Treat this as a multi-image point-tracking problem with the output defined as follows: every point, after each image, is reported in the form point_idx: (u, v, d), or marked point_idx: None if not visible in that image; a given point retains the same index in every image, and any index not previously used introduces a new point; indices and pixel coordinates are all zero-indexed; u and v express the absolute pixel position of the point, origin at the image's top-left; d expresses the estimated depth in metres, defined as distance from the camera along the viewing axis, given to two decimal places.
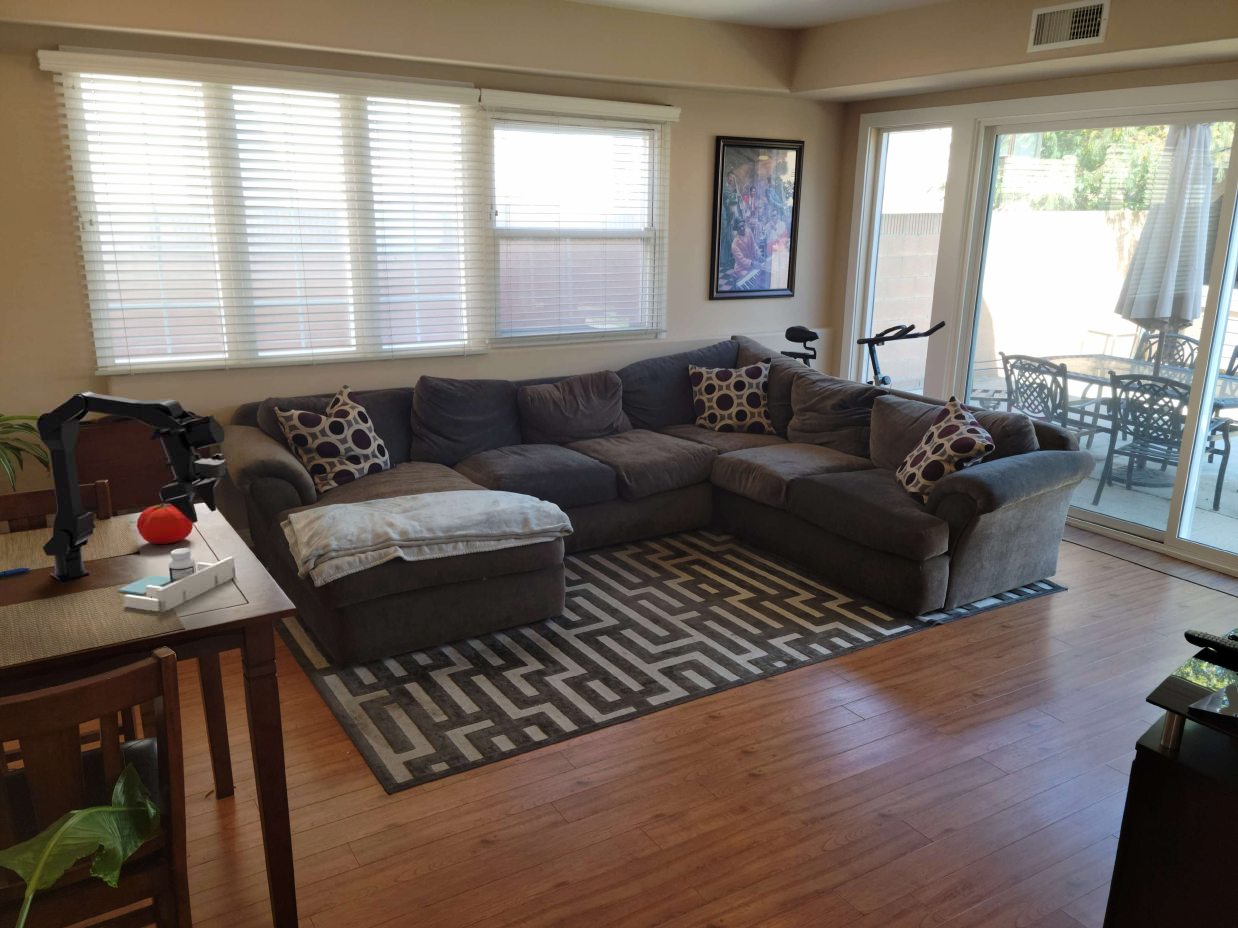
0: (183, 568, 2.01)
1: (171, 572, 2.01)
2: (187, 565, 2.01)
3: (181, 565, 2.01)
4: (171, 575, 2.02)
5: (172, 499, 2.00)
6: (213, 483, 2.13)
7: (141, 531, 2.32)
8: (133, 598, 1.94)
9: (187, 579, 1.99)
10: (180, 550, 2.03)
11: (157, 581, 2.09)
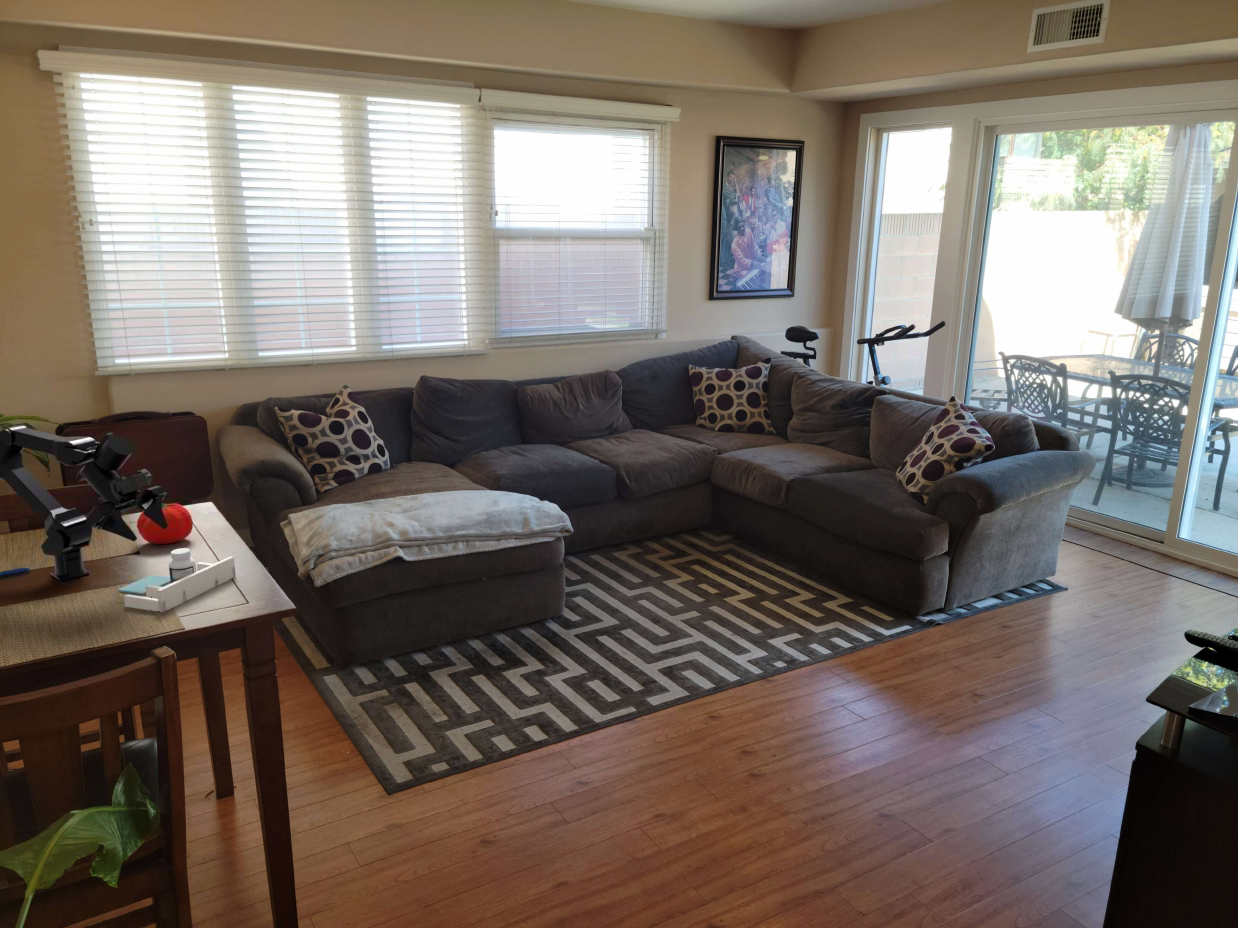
0: (183, 568, 2.01)
1: (171, 572, 2.01)
2: (187, 565, 2.01)
3: (181, 565, 2.01)
4: (171, 575, 2.02)
5: (100, 524, 1.97)
6: (154, 501, 2.08)
7: (141, 531, 2.32)
8: (133, 598, 1.94)
9: (187, 579, 1.99)
10: (180, 550, 2.03)
11: (157, 581, 2.09)
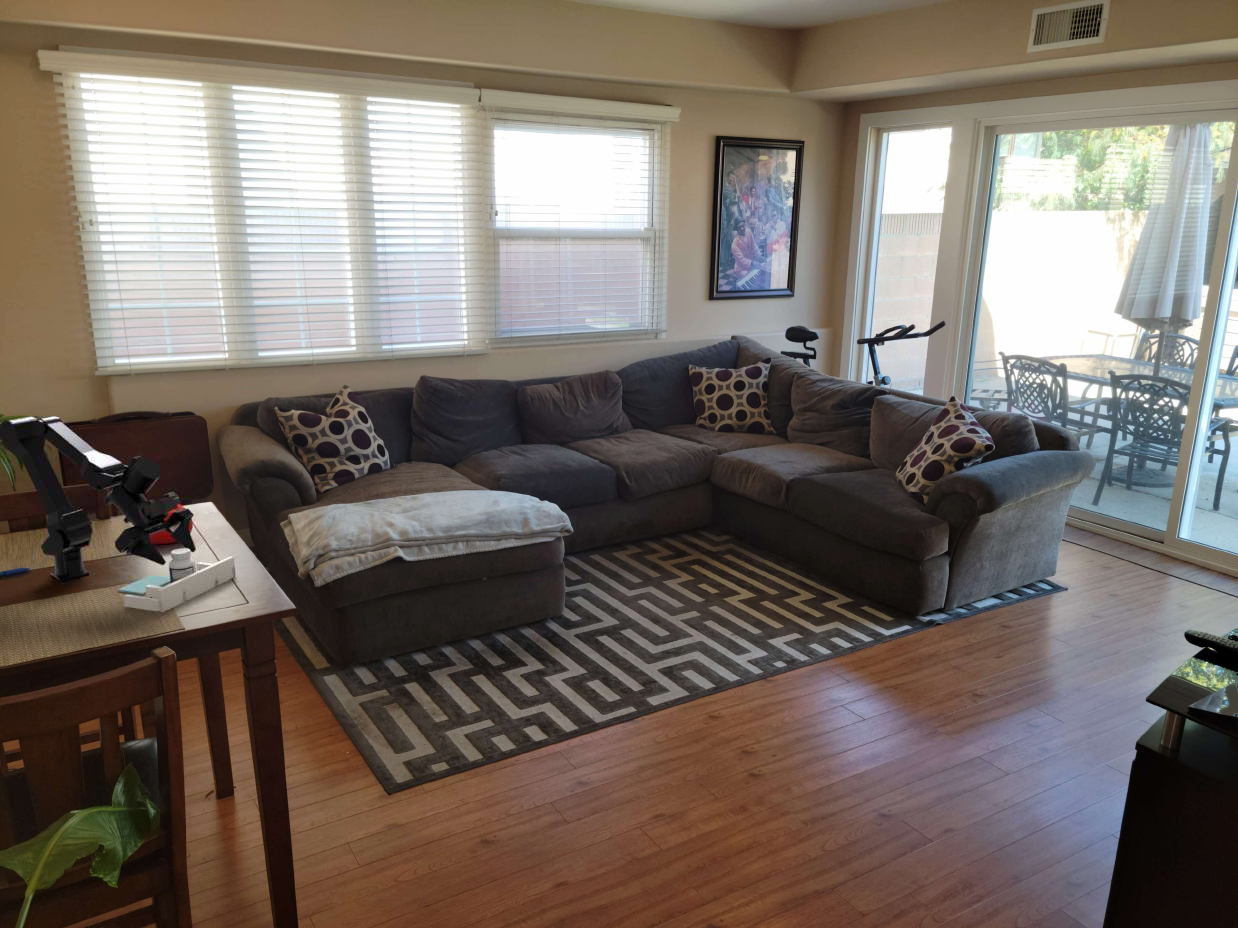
0: (183, 568, 2.01)
1: (171, 572, 2.01)
2: (187, 565, 2.01)
3: (181, 565, 2.01)
4: (171, 575, 2.02)
5: (129, 548, 1.96)
6: (182, 524, 2.07)
7: None
8: (133, 598, 1.94)
9: (187, 579, 1.99)
10: (180, 550, 2.03)
11: (157, 581, 2.09)
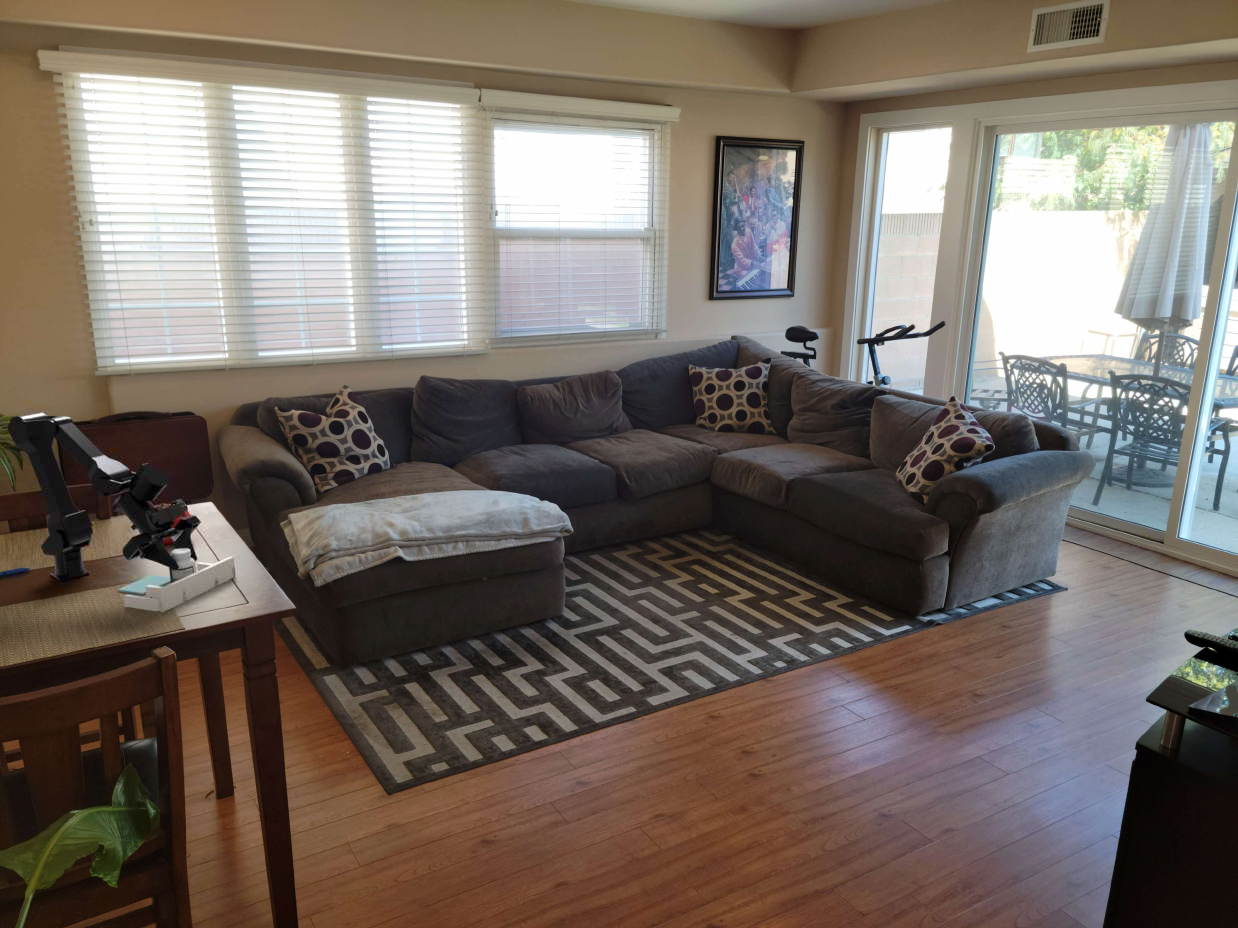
0: (183, 568, 2.01)
1: (171, 572, 2.01)
2: (187, 565, 2.01)
3: (181, 565, 2.01)
4: (171, 575, 2.02)
5: (143, 553, 1.98)
6: (184, 533, 2.05)
7: None
8: (133, 598, 1.94)
9: (187, 579, 1.99)
10: (180, 550, 2.03)
11: (157, 581, 2.09)
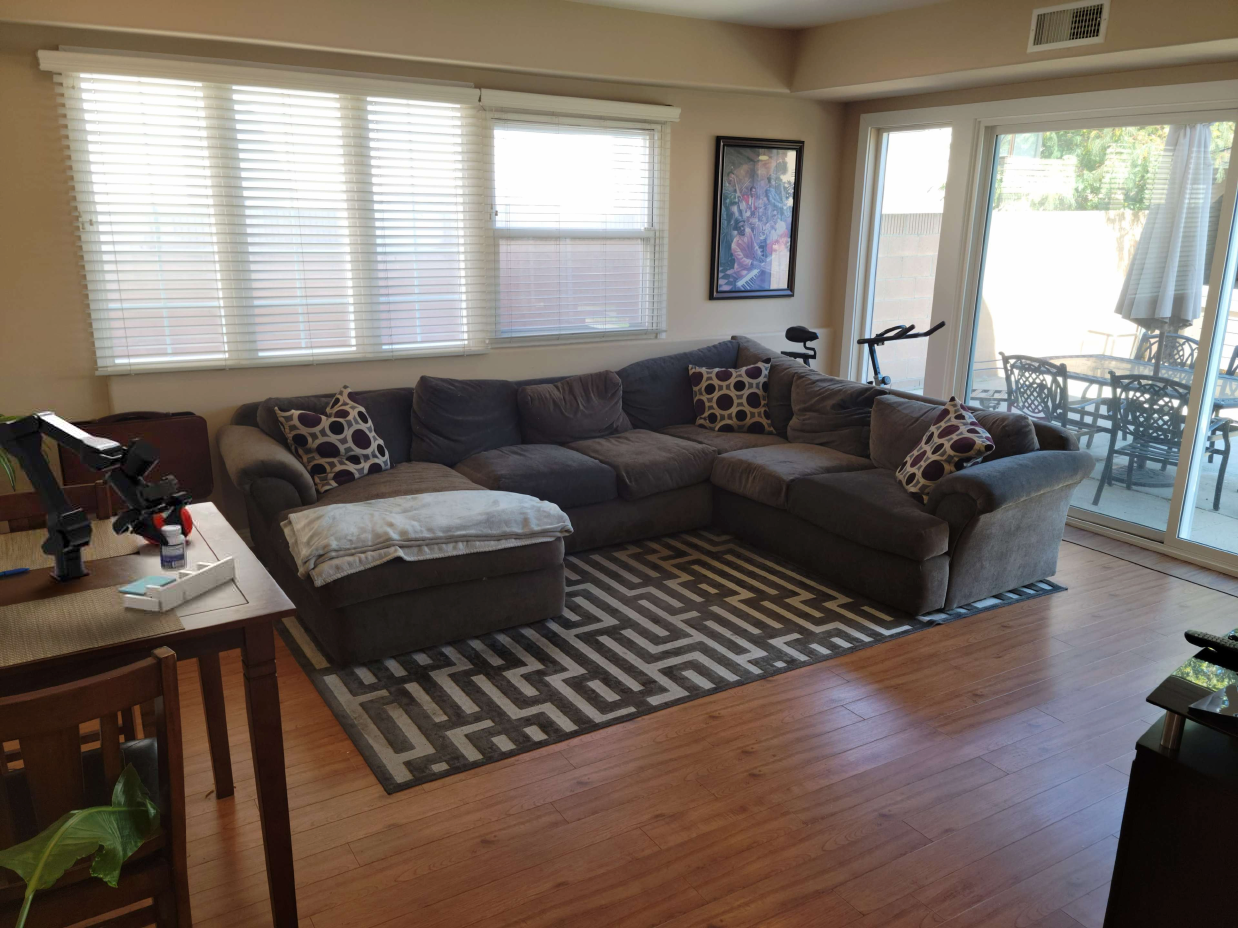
0: (173, 544, 2.00)
1: (161, 548, 2.00)
2: (177, 542, 2.01)
3: (171, 541, 2.00)
4: (161, 551, 2.01)
5: (133, 528, 1.97)
6: (174, 510, 2.05)
7: None
8: (133, 598, 1.94)
9: (187, 579, 1.99)
10: (170, 527, 2.02)
11: (157, 581, 2.09)
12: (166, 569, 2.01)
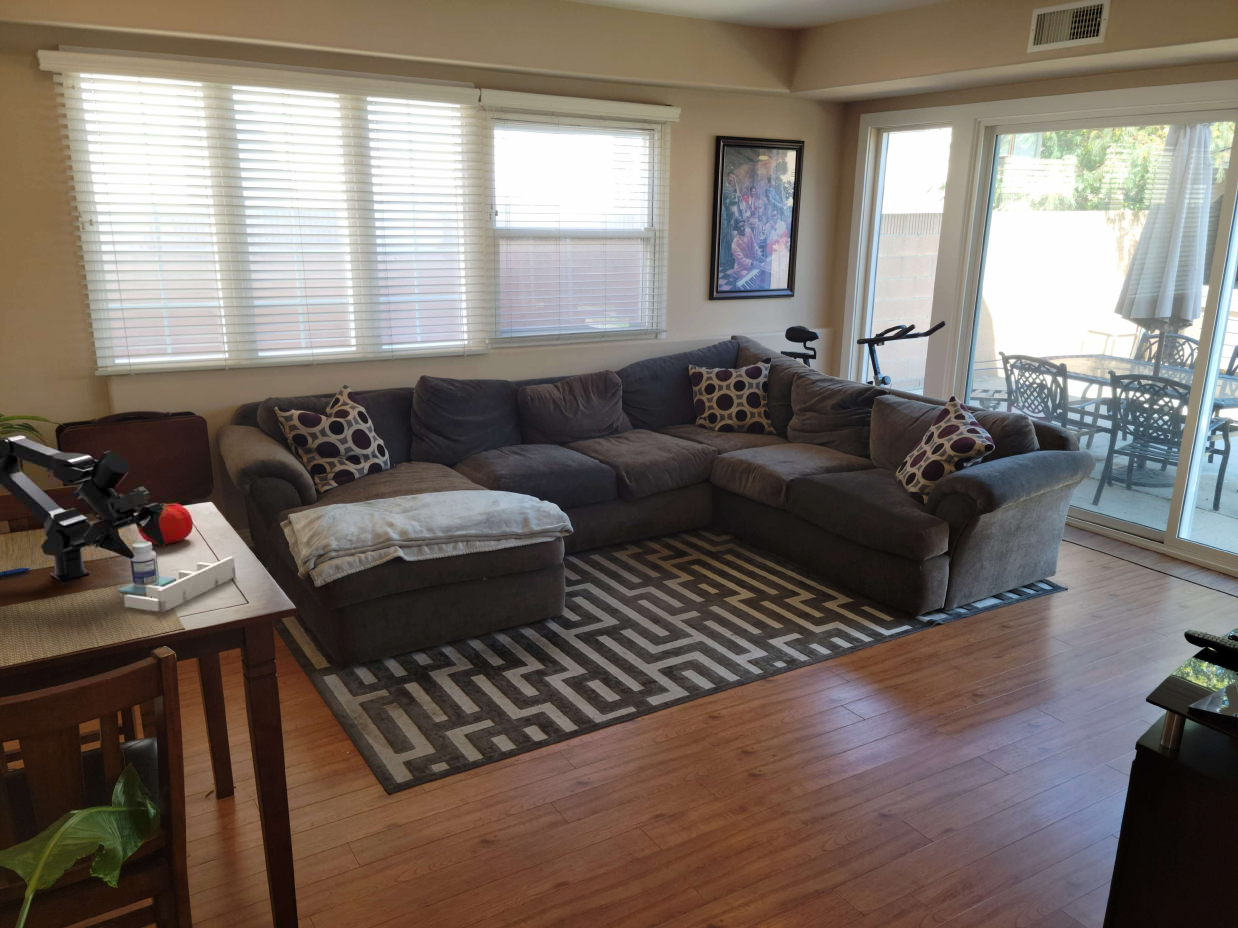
0: (144, 561, 2.04)
1: (133, 564, 2.04)
2: (148, 558, 2.04)
3: (142, 557, 2.03)
4: (132, 568, 2.04)
5: (98, 542, 1.98)
6: (152, 518, 2.09)
7: (141, 531, 2.32)
8: (133, 598, 1.94)
9: (187, 579, 1.99)
10: (141, 543, 2.05)
11: None
12: (138, 585, 2.05)
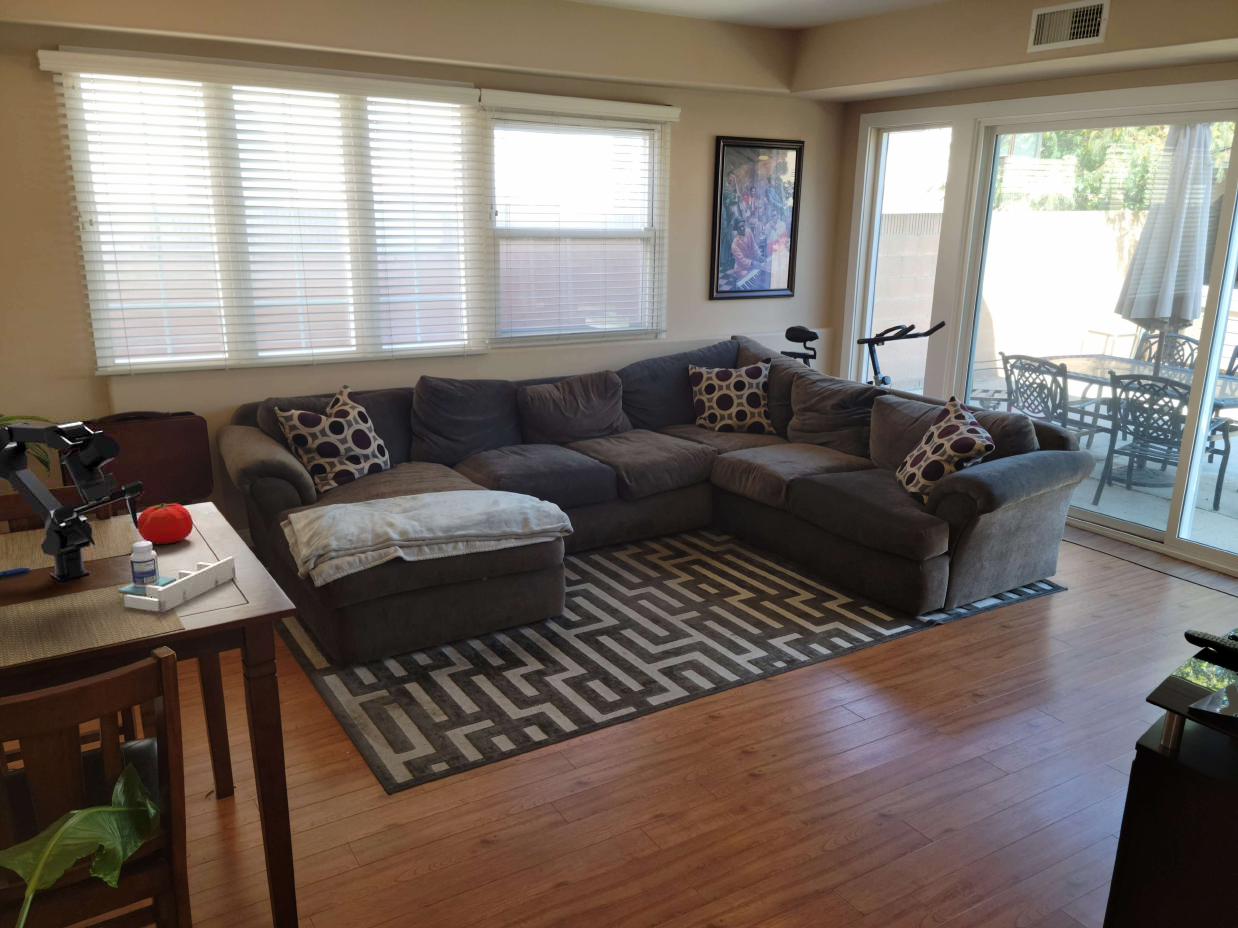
0: (145, 560, 2.04)
1: (133, 564, 2.04)
2: (148, 558, 2.04)
3: (142, 557, 2.03)
4: (132, 568, 2.04)
5: None
6: (127, 501, 2.05)
7: (141, 531, 2.32)
8: (133, 598, 1.94)
9: (187, 579, 1.99)
10: (141, 543, 2.05)
11: None
12: (138, 585, 2.05)
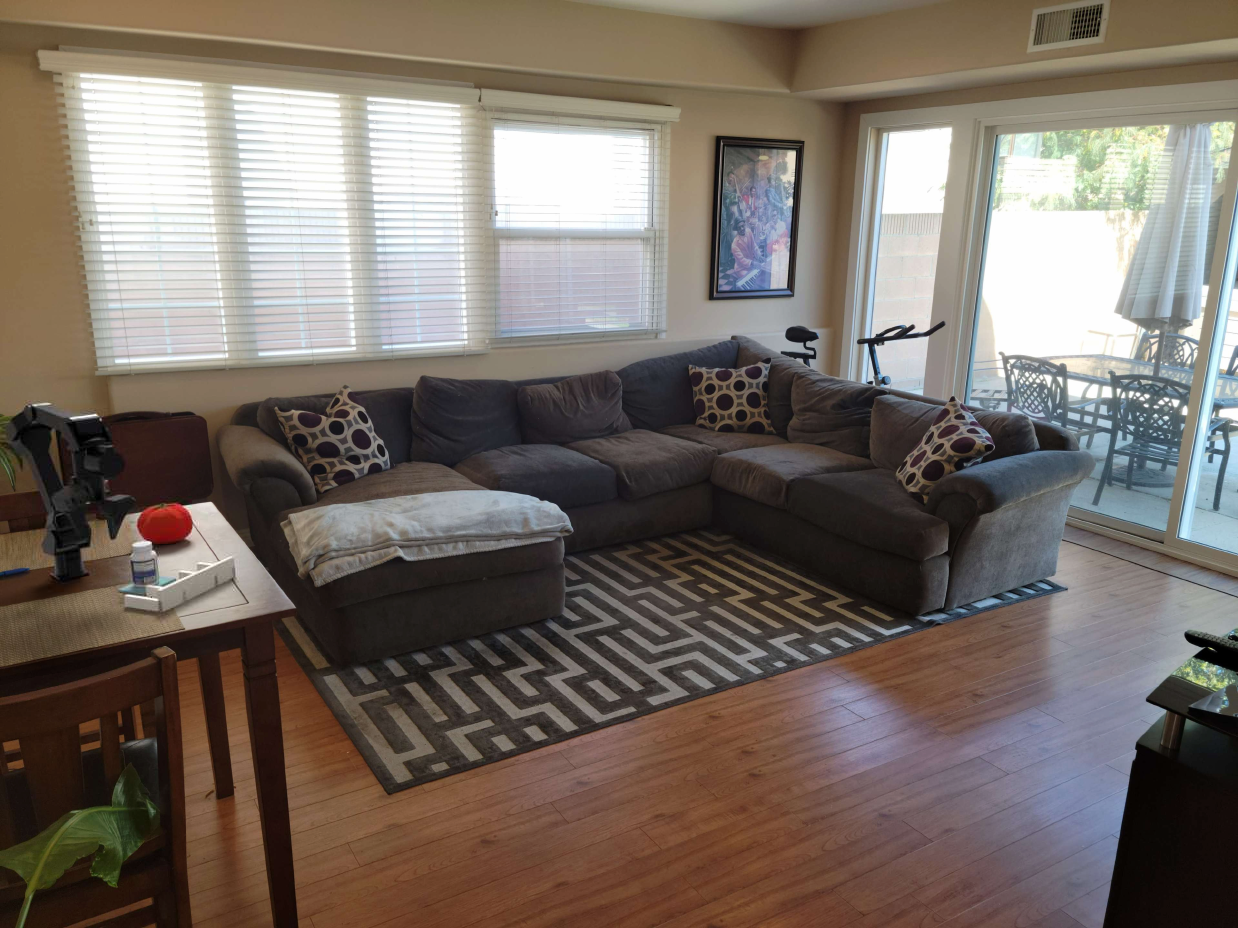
0: (144, 560, 2.04)
1: (133, 564, 2.04)
2: (148, 558, 2.04)
3: (142, 557, 2.03)
4: (132, 568, 2.04)
5: None
6: None
7: (141, 531, 2.32)
8: (133, 598, 1.94)
9: (187, 579, 1.99)
10: (141, 543, 2.05)
11: None
12: (138, 585, 2.05)
